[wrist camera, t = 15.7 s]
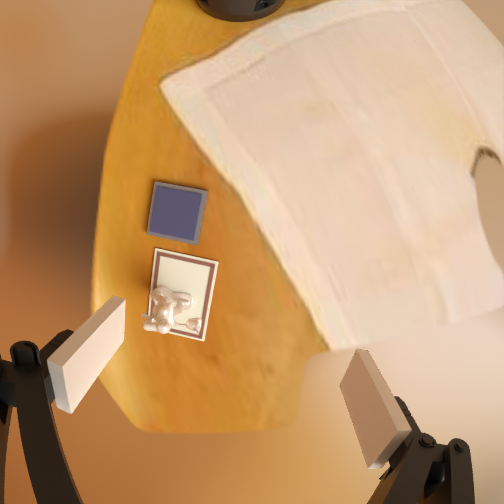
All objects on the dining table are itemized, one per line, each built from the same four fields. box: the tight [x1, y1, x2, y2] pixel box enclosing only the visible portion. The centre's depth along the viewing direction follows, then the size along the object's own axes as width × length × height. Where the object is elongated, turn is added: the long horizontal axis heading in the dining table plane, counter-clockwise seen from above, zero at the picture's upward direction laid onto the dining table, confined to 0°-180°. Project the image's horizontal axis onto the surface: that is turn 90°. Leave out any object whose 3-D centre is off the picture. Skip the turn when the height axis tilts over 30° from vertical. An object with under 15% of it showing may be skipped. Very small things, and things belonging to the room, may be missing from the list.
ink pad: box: [147, 182, 208, 245], centre depth 43 cm, size 8×8×1 cm
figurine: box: [141, 286, 202, 335], centre depth 40 cm, size 5×9×12 cm, turn 88°
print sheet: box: [148, 248, 219, 341], centre depth 46 cm, size 14×10×1 cm
